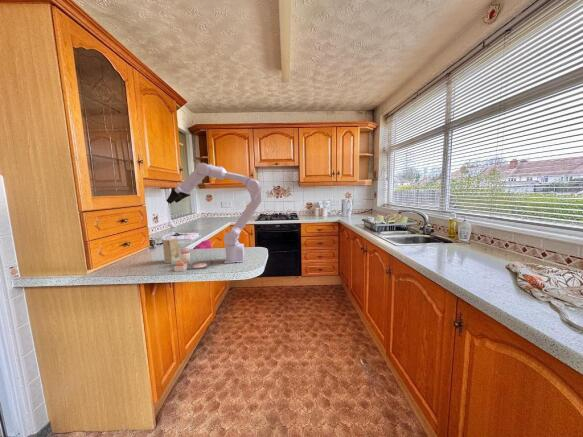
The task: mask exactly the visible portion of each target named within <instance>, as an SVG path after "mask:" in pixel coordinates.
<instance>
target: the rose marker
mask: <svg viewBox="0 0 583 437" xmlns="http://www.w3.org/2000/svg"><path fill="white" fill-rule="evenodd" d="M190 253H191V252H190V247H183V248H180V257H181V258H180V259H181V261H185V263H187V266H190V265H191V264H192V261H191V254H190Z"/></svg>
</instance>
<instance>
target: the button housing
mask: <svg viewBox="0 0 583 437" xmlns="http://www.w3.org/2000/svg"><path fill="white" fill-rule="evenodd" d="M187 268H188V265H187V263H185V265H184V266H176V265H175V266H174V268H173V269H174V272H185V271H186V270H187Z"/></svg>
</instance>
